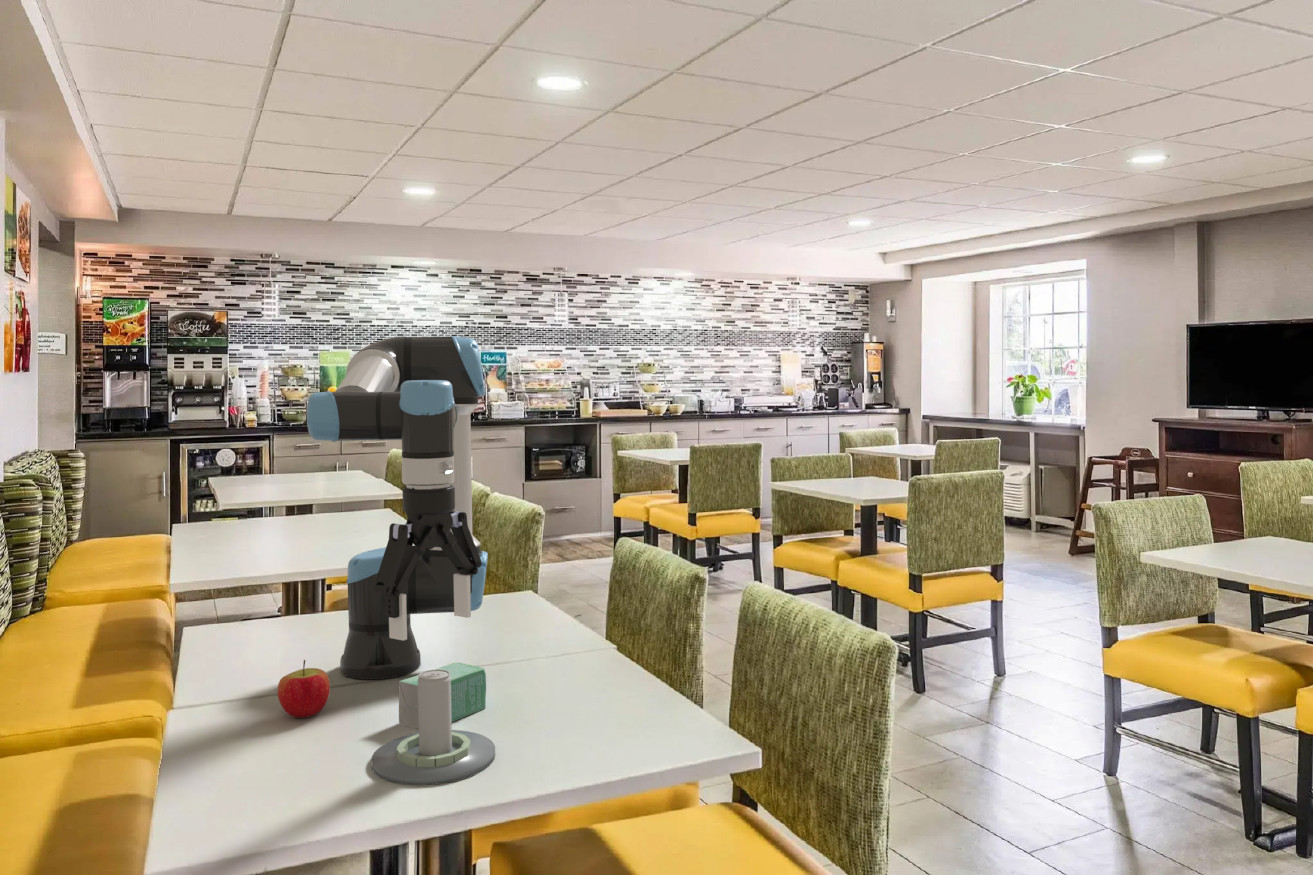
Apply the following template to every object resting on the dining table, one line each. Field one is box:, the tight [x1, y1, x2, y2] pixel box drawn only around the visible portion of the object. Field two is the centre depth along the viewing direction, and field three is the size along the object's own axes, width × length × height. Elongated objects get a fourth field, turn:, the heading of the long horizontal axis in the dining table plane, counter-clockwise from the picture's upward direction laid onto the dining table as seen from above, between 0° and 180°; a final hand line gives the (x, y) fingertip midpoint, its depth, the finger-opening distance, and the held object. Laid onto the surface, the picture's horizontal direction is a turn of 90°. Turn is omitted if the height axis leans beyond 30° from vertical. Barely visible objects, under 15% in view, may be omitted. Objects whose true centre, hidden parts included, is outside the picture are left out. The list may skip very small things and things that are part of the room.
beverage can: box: [418, 669, 453, 756], centre depth 142 cm, size 5×5×12 cm
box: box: [398, 662, 487, 731], centre depth 161 cm, size 7×14×8 cm, turn 147°
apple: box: [277, 659, 331, 719], centre depth 161 cm, size 8×8×10 cm
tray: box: [371, 729, 496, 786], centre depth 143 cm, size 18×18×2 cm
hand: (431, 627), depth 142 cm, fingers open, 13 cm apart
